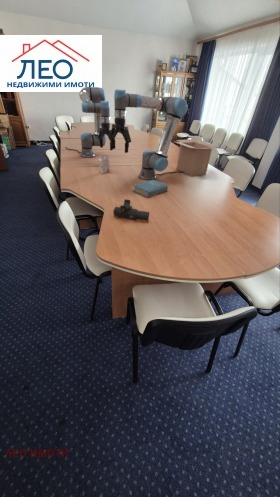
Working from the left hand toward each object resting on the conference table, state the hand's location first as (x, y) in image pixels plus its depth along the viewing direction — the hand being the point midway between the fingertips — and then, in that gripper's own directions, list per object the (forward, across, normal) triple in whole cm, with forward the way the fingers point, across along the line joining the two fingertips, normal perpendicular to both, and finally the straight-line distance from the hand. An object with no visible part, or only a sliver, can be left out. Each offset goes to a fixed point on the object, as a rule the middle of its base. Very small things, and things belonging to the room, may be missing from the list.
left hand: (106, 148), depth 204 cm
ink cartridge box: (+20, +2, -5) cm, 20 cm away
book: (+20, +62, -8) cm, 65 cm away
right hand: (-9, +41, -23) cm, 48 cm away
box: (+20, +55, +66) cm, 88 cm away
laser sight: (+21, +82, -53) cm, 99 cm away
